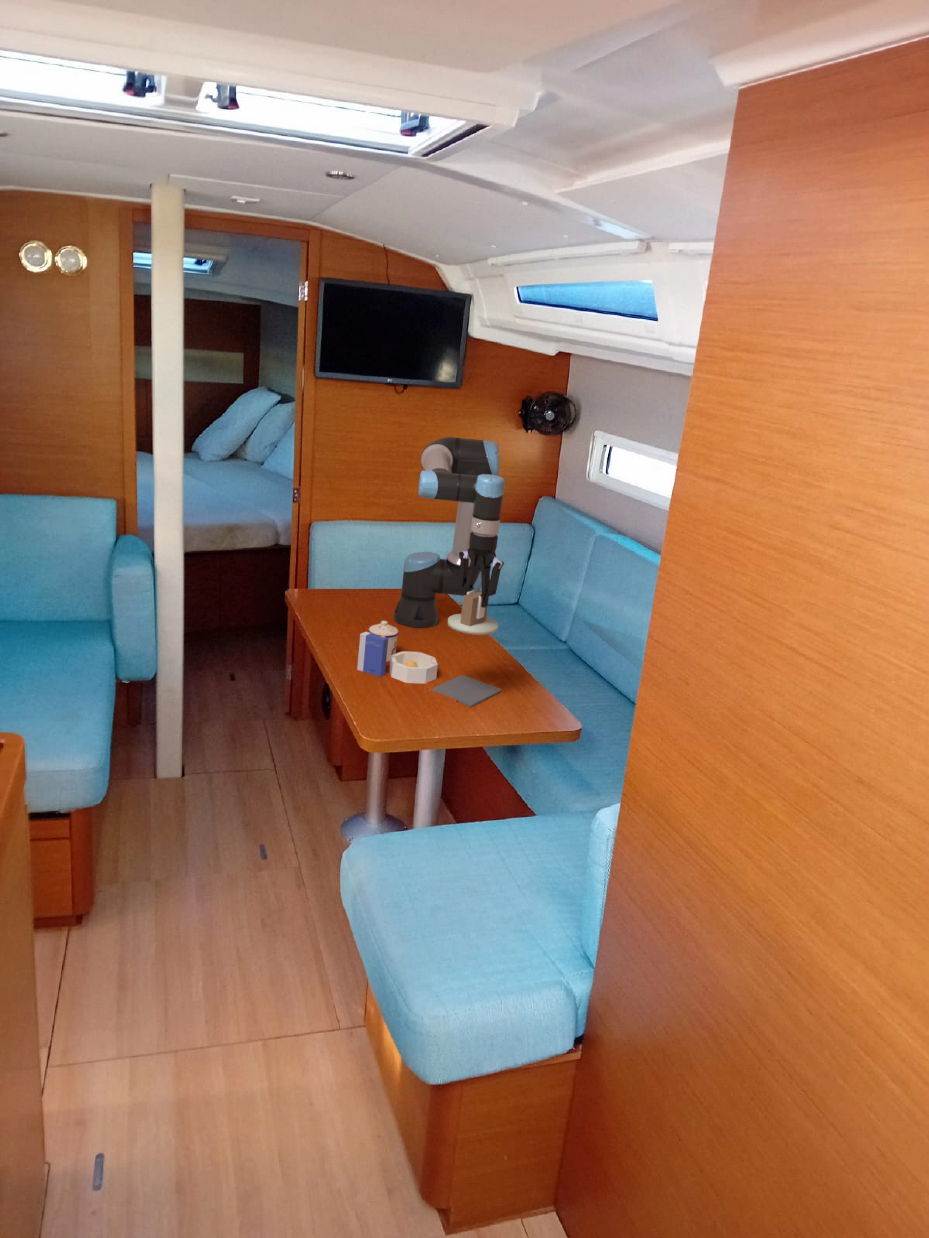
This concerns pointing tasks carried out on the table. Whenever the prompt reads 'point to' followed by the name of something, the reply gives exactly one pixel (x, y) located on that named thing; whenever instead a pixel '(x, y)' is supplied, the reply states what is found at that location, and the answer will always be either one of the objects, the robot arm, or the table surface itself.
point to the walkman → (372, 653)
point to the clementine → (411, 664)
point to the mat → (467, 690)
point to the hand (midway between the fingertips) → (474, 615)
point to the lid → (472, 618)
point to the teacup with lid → (389, 633)
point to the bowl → (413, 674)
